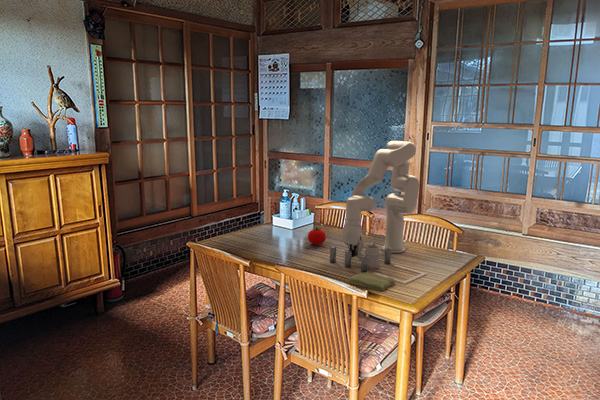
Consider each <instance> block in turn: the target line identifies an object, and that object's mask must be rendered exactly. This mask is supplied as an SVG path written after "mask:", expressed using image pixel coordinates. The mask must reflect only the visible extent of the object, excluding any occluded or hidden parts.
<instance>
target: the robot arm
mask: <svg viewBox="0 0 600 400" xmlns="http://www.w3.org/2000/svg"><path fill="white" fill-rule="evenodd" d="M416 152H417V147H416V145H415V143H413V142H412V141H411V142H410V141H402V140H391V141H388V142H387V144H386V147H385V148H380V149H378V150H377V151H376V152H375V154H374V156H373V159H372V161H371V164H370V167H369V169H368V171H367V174H365V176H363V177H362V179H360V180H359V182H357V183H356V184H355V186H354V188H353V190H352V192H351V196H350V197H347V198H346V201H345V202H346V203H345V205H346V207H345V208H346V209H345V218H344V221H345V223H344V225H343V227H342V228H343V229H342V237H341V239H342V242H343V243H344V244H345V245H346V246H347V249H348V250H350V251H352V258H354V257H356V255H355V254H356V249H357V247H359V246H360V243H361V240H362V241H363V238H364V237H363V226H362V223H361V222H362V220H361V219H362V218H361V217H362V212H371V211H373V210H374V209H375V208H376V206H377V201H376V199H374V198H373V196H368V195H364V194H365V192H366V191H367V189H369V188H370V187H372V186H374V185H377V184H379V183H382V182H383V180H384V177H385V174H386V173H387V170H388V168H389V167H392V173H391V178H390V189H392V190H394V191H397V192H400V193H395V192H394V193H393V192H391V193H389V194H387V196H386V197H385V198H384V199H385V200H384V208H385V215H386V216H385V218H386V219H385V236H384V237H385V238H384V245H382V246H381V249H382V251H384V252H385V247H391V254H392V253H393V254H394V253H395V254H396V253H397V254H398V253H404V252H406V247H405V246H404V245H405V244H407V240H405V239H404V223H405V222H404V221H405V219H404V218H405V217H404V214H406V215H410V214H412V213H414V212H415V210H416V208H417V204H418V197H419V191H420V180H419V179H418V178H417V176H414V175H411V174H409V173H410V163H409V160H411V159H412V158H414V156H415V155H416ZM401 193H404V194H401ZM357 244H358V245H357Z"/></svg>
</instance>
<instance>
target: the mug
mask: <svg viewBox="0 0 600 400" xmlns="http://www.w3.org/2000/svg"><path fill="white" fill-rule="evenodd" d="M363 249H365V251H364V255H368V269H369V268H370V269H376V268H379V266H380V263H381V261H380V247H379V245H376V244H375V245H369V244H368V245H365V243H364V241H363V239H362V240H361V243H360V246H359V249H358V255H357V259H358V261H359V262H361V255H362V250H363Z"/></svg>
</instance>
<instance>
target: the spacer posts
mask: <svg viewBox="0 0 600 400" xmlns="http://www.w3.org/2000/svg"><path fill="white" fill-rule="evenodd" d="M357 245H358V244H357ZM368 245H376V243H374V242H368ZM358 249H359V247H357V249H356V254H355V256H358ZM383 255H384V256H383V257H384V258H383V260H384V261H383V263H384V264H385V265H390V264H391V262H392V261H391V260H392V259H391V257H392V253H391V247H385V251H384V254H383ZM352 258H353V257H352V251H350V250H349V249H348V250H345V251H344V268H345V269H351V268H352ZM329 263H330V264H335V263H337V246H335V245H331V246H330V247H329ZM368 269H369V267H368V255H365V254H361V261H360V274H361V273H369V271H368Z"/></svg>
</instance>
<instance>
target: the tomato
mask: <svg viewBox="0 0 600 400" xmlns="http://www.w3.org/2000/svg"><path fill="white" fill-rule="evenodd" d="M326 239H327V235H326V232H325V231H324V230H322V227H319V228H318V227H315V228H314V227H312V228H311V230H309V232H308V233H307V241H308V242H309V243H310V244H311V245H314V246H320V245H322V244H324V243H325V241H326Z"/></svg>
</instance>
